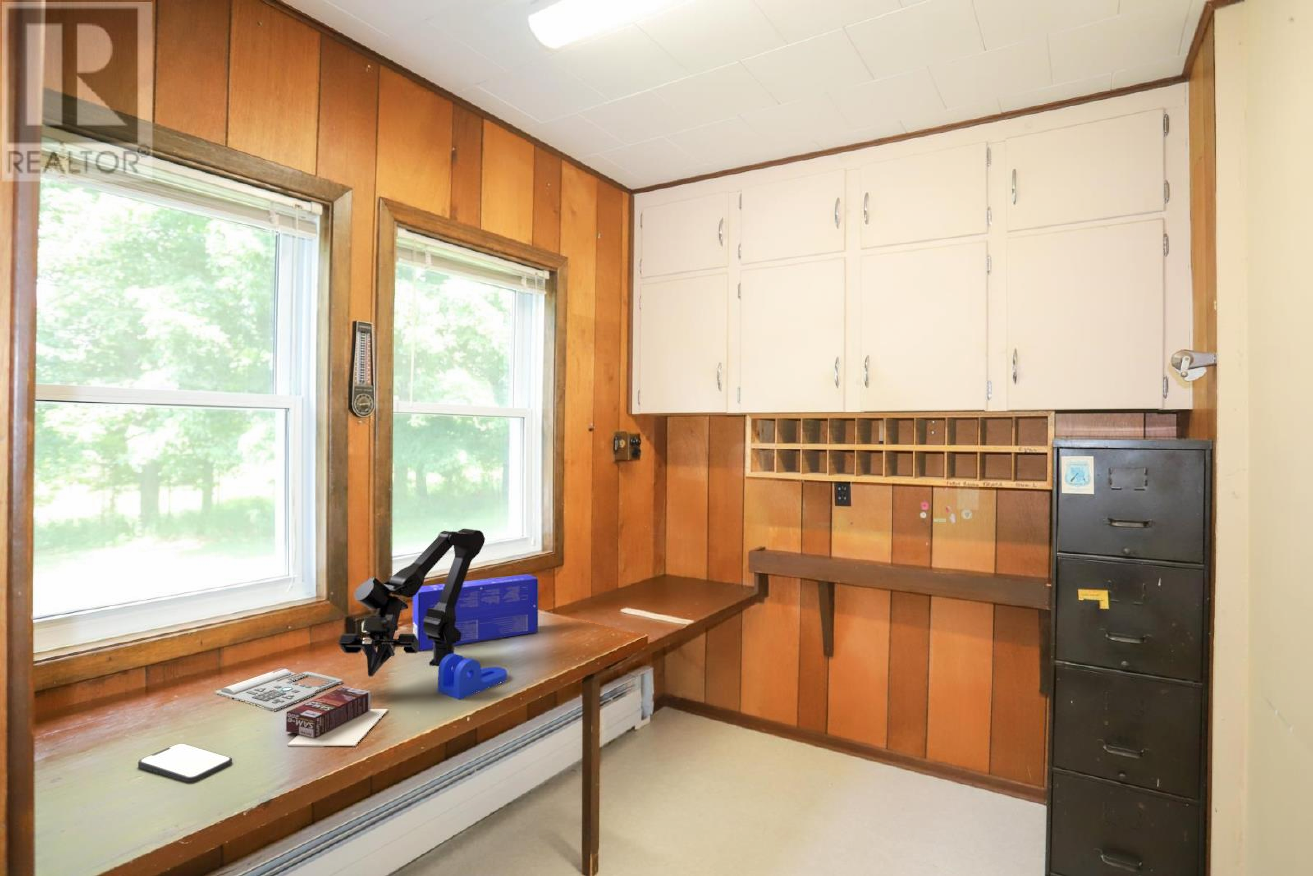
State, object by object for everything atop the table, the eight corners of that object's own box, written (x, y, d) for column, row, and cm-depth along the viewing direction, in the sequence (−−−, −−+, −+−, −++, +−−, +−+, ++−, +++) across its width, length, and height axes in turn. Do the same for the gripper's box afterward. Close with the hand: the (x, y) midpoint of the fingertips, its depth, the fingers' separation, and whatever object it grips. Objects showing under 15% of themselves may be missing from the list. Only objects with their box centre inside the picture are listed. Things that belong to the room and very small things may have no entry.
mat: (328, 710, 155) (328, 708, 155) (387, 710, 156) (387, 709, 156) (287, 746, 137) (287, 744, 137) (354, 746, 138) (355, 744, 138)
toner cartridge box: (529, 627, 226) (530, 573, 226) (538, 633, 219) (539, 578, 218) (411, 644, 205) (412, 585, 205) (417, 652, 198) (418, 591, 198)
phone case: (235, 765, 130) (181, 749, 136) (235, 757, 130) (181, 741, 136) (190, 788, 122) (134, 769, 128) (190, 779, 122) (134, 761, 128)
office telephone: (212, 686, 164) (287, 662, 182) (212, 697, 164) (287, 671, 182) (274, 703, 154) (346, 675, 172) (274, 714, 154) (346, 685, 172)
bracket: (458, 700, 163) (459, 664, 163) (437, 692, 168) (438, 657, 168) (513, 679, 178) (513, 646, 178) (492, 672, 183) (492, 640, 183)
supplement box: (371, 690, 155) (315, 717, 140) (371, 710, 155) (315, 740, 140) (343, 684, 158) (285, 711, 143) (343, 704, 158) (285, 733, 143)
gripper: (341, 602, 166) (320, 661, 155) (416, 602, 167) (400, 661, 156) (354, 624, 174) (335, 681, 163) (425, 624, 175) (411, 681, 164)
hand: (370, 676), depth 161 cm, fingers closed
